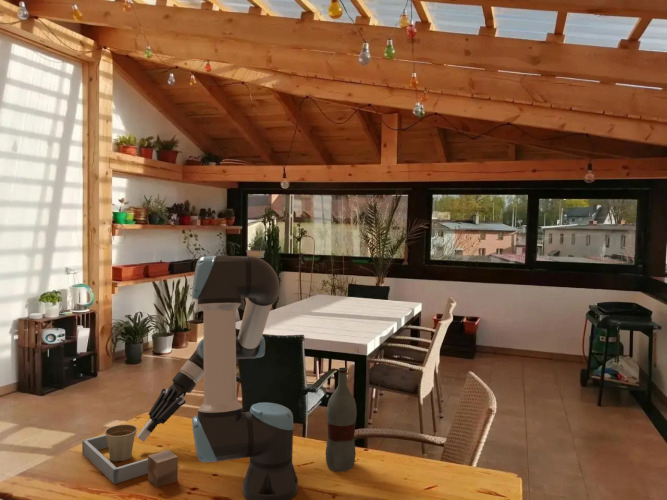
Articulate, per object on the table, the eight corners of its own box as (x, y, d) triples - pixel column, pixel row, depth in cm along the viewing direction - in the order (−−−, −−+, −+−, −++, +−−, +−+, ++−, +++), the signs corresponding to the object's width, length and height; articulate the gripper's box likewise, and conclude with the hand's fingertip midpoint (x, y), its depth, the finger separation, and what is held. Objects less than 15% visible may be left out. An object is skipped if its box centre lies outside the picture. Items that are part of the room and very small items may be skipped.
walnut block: (177, 480, 145) (177, 456, 145) (157, 488, 141) (157, 463, 141) (167, 473, 149) (168, 449, 149) (147, 479, 145) (147, 455, 145)
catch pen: (162, 468, 152) (162, 455, 152) (114, 484, 142) (114, 470, 142) (126, 440, 171) (127, 429, 171) (82, 452, 161) (82, 440, 161)
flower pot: (142, 451, 163) (142, 425, 163) (128, 465, 154) (128, 437, 153) (114, 450, 164) (114, 423, 163) (98, 463, 154) (98, 435, 154)
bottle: (339, 456, 164) (342, 362, 162) (361, 465, 157) (364, 368, 156) (318, 465, 157) (321, 368, 156) (340, 475, 150) (343, 374, 149)
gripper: (205, 388, 172) (157, 451, 161) (185, 379, 181) (139, 438, 170) (190, 375, 168) (140, 439, 157) (171, 367, 177) (123, 427, 166)
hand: (140, 439), depth 163 cm, fingers closed
